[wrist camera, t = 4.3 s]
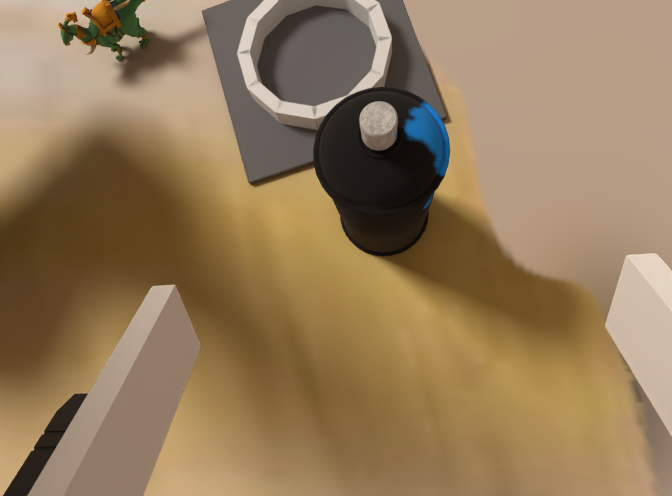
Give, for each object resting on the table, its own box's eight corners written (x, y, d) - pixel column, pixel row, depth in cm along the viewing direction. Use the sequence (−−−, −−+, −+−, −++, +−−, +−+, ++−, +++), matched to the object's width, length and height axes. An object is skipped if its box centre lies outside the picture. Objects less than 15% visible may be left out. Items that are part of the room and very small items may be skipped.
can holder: (445, 119, 43) (449, 103, 40) (250, 184, 45) (240, 173, 42) (382, -50, 47) (381, -76, 44) (203, 14, 49) (191, -7, 45)
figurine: (87, 57, 49) (28, 6, 41) (180, -1, 49) (139, -64, 41) (98, 79, 49) (41, 31, 41) (192, 20, 49) (153, -40, 41)
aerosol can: (357, 268, 42) (328, 220, 22) (328, 189, 44) (278, 78, 24) (441, 238, 42) (487, 161, 22) (409, 159, 43) (425, 21, 24)
